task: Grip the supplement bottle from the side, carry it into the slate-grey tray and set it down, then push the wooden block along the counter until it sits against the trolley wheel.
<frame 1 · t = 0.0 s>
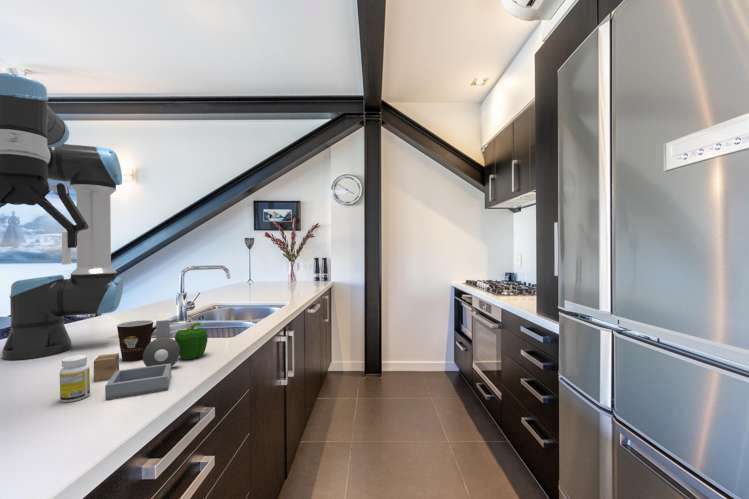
hand: (22, 265, 68), 28 cm above the countertop, tool pointing down, fingers open, 13 cm apart
coffee mug: (140, 359, 99), on the countertop
bell pepper: (191, 358, 100), on the countertop
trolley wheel: (162, 369, 90), on the countertop
supplement bottle: (75, 398, 72), on the countertop
tray: (141, 386, 78), on the countertop
wooden block: (106, 377, 84), on the countertop
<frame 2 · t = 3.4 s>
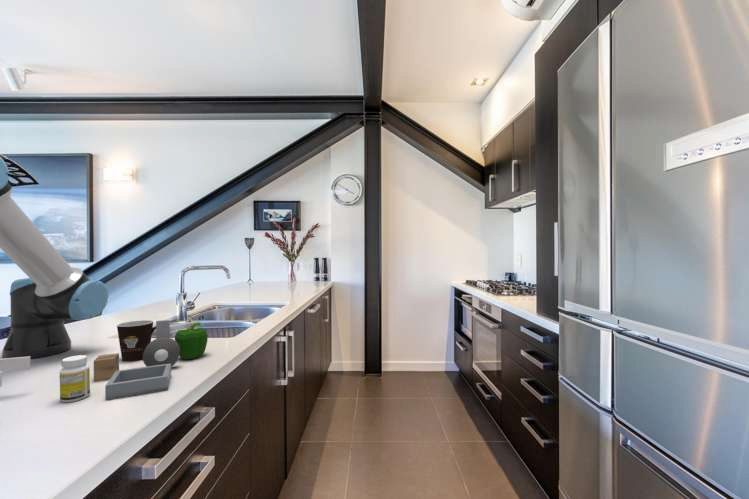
hand: (16, 370, 69), 7 cm above the countertop, tool horizontal, fingers open, 13 cm apart
nothing on the countertop moved.
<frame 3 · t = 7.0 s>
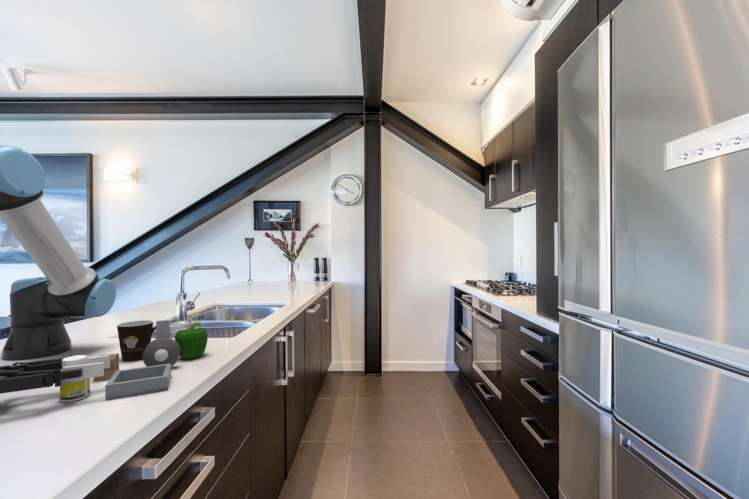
hand: (106, 365, 75), 6 cm above the countertop, tool horizontal, fingers closed on supplement bottle, 5 cm apart
supplement bottle: (75, 398, 72), on the countertop, touching gripper
everything else where it was.
when the fingers open (8 cm above the countertop, at t = 11.3 s): supplement bottle drops 2 cm, resting on tray.
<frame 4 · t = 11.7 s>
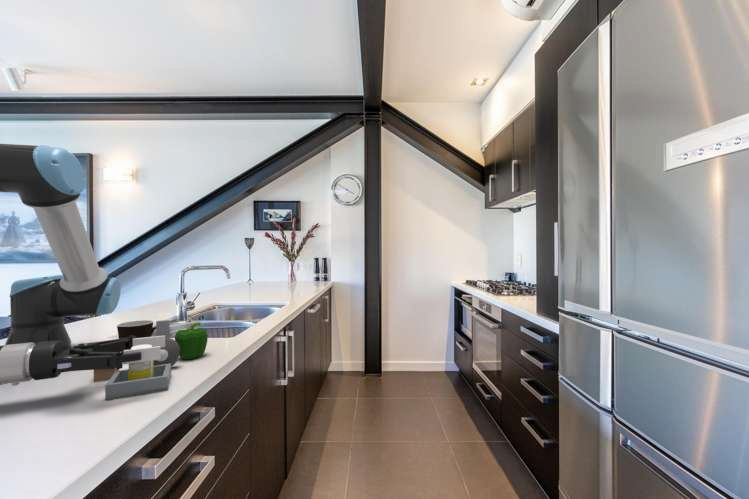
hand: (162, 346, 80), 8 cm above the countertop, tool horizontal, fingers open, 10 cm apart
supplement bottle: (140, 384, 78), resting on tray
everything else where it was.
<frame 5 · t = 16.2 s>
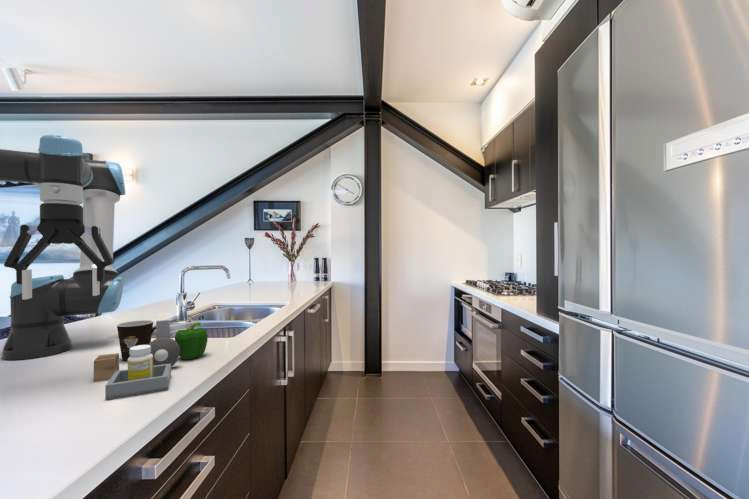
hand: (62, 296, 81), 20 cm above the countertop, tool pointing down, fingers open, 12 cm apart
nothing on the countertop moved.
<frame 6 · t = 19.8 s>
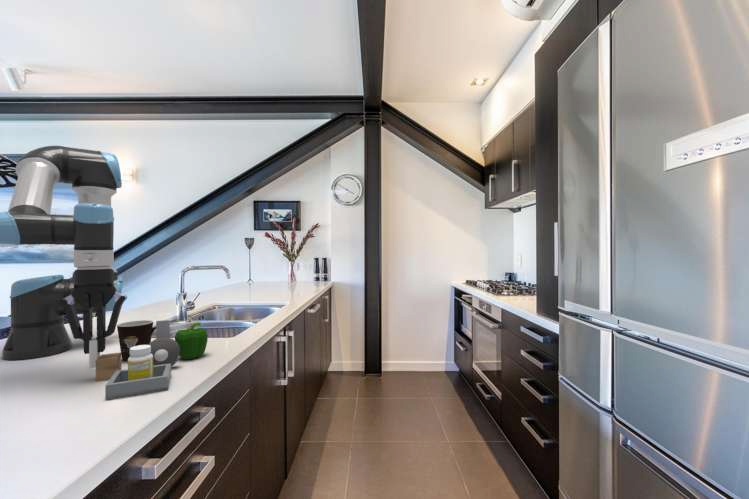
hand: (94, 366, 83), 3 cm above the countertop, tool pointing down, fingers closed
wooden block: (108, 376, 85), on the countertop, touching gripper
everything else where it was.
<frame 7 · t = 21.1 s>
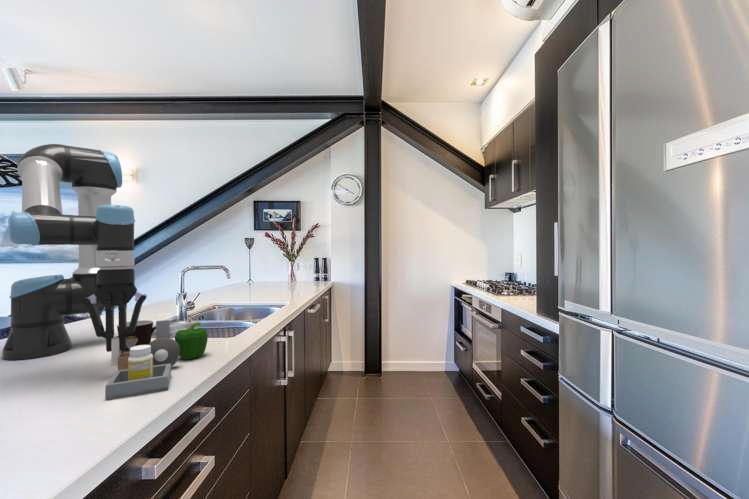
hand: (116, 363, 85), 3 cm above the countertop, tool pointing down, fingers closed
wooden block: (130, 373, 87), on the countertop, touching gripper
everything else where it was.
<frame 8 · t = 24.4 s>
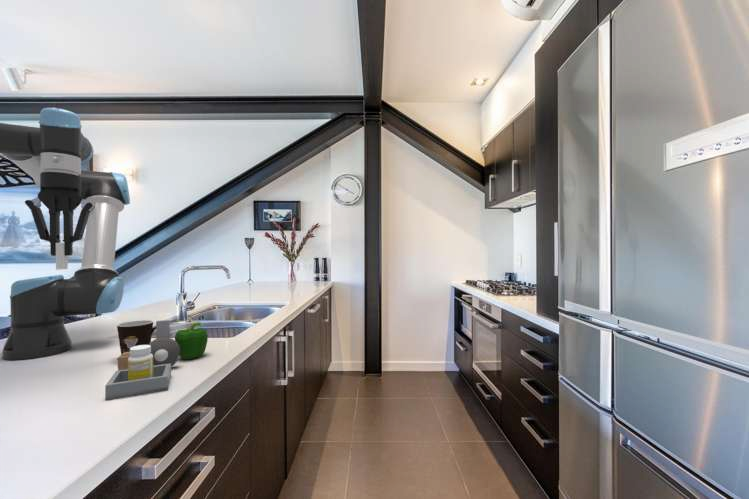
hand: (61, 269, 85), 26 cm above the countertop, tool pointing down, fingers closed
wooden block: (130, 374, 87), on the countertop
everything else where it was.
at the end: supplement bottle inside the target area on the tray (0.1 cm from its centre), point 0.4 cm above the tray's base; supplement bottle tilted 0°; wooden block 0.2 cm from the target spot, on the countertop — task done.
